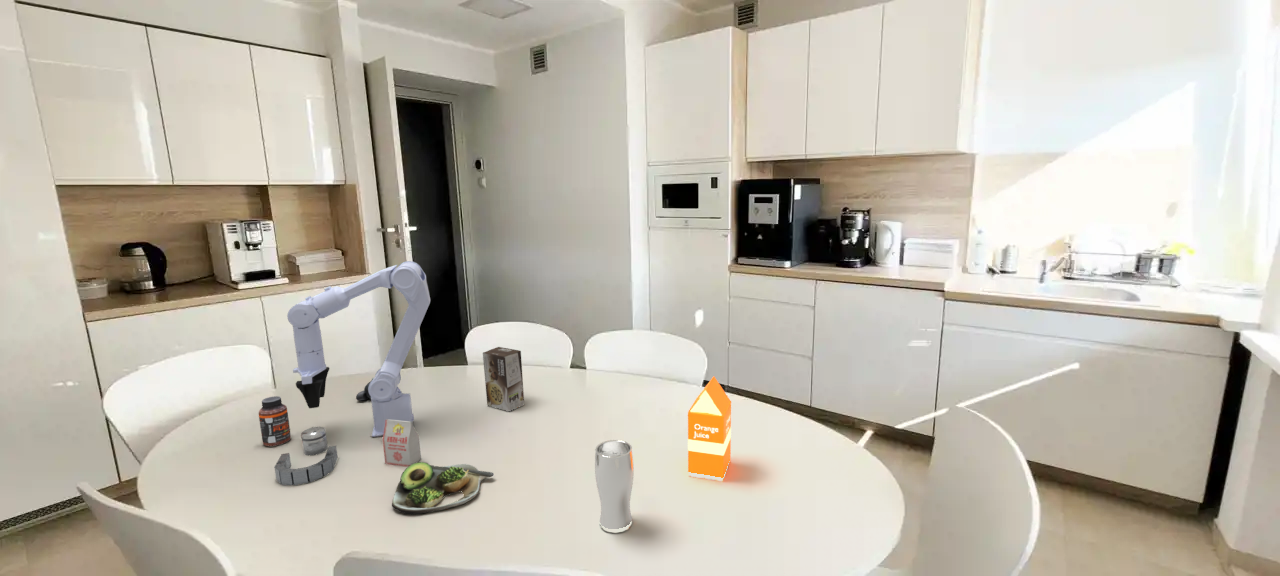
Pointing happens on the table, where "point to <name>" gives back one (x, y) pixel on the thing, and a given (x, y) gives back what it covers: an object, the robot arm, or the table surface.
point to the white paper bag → (400, 443)
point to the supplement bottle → (274, 422)
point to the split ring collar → (304, 469)
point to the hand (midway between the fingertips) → (316, 402)
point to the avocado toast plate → (435, 486)
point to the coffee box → (503, 378)
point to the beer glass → (614, 482)
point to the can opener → (364, 393)
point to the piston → (314, 440)
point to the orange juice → (709, 431)
